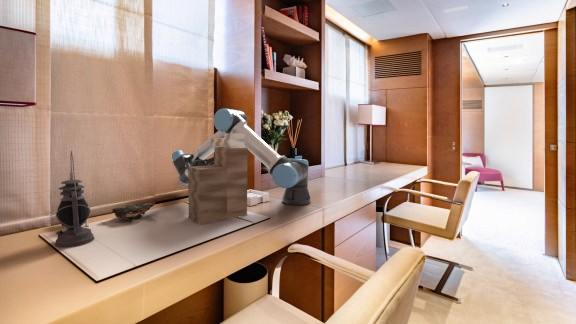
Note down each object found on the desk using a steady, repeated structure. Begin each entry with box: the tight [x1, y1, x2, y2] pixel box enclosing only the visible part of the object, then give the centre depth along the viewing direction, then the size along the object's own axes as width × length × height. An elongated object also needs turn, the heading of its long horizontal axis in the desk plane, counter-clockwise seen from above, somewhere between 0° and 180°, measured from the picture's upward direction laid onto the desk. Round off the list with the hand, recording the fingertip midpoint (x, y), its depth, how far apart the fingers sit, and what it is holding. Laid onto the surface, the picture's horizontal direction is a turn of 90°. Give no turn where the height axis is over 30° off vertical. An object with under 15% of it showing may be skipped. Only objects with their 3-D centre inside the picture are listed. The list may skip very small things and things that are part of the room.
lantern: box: [54, 150, 95, 249], centre depth 97 cm, size 12×11×30 cm
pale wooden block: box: [210, 134, 246, 148], centre depth 133 cm, size 21×7×6 cm, turn 42°
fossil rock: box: [111, 202, 155, 221], centre depth 124 cm, size 14×14×6 cm
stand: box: [187, 147, 249, 225], centre depth 128 cm, size 11×22×30 cm, turn 132°
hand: (210, 152), depth 145 cm, fingers open, 13 cm apart
